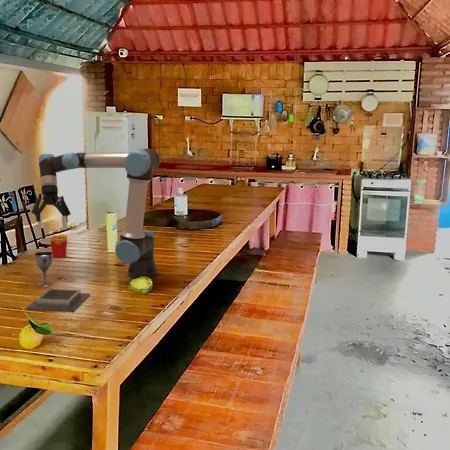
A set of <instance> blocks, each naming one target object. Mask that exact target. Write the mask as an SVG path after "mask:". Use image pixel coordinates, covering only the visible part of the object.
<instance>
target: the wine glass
mask: <svg viewBox="0 0 450 450" xmlns="http://www.w3.org/2000/svg"><path fill="white" fill-rule="evenodd" d="M53 259H54V258H53V253H52V251H49V250H48V251H39V252H38V251H37V252H35V253H34V261H35V265H36V266H37V267H38V268H39V270H41V272H42V275H43V281H41V282H38V283H37V286H39V287H50V286H52V285H53V284H54V282H52V281H47V272H48V270H49V268H50V267H52V264H53Z"/></svg>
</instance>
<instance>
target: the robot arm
mask: <svg viewBox="0 0 450 450" xmlns="http://www.w3.org/2000/svg"><path fill="white" fill-rule="evenodd" d="M160 164H161V158H160V155H159V153H158V152H157V151H156V150H155V149H153V148H143V149H142V148H141V149H134V150H133V151H130V152H129V151H128V152H77V153H76V152H68V153H65V154H60V155H57V156H55V155H54V154H53V153H42V154H39V156H38V167H39V177H40V186H41V187H40V190H41V193H39V194H36V197H35V198H36V199H35V203H34V204H33V207H32V209H31V214H33V216H35V221H36V222H37V227H38V228H37V229H38V230H40V229H44V224H43V223H44V220H43V214H41V213H42V212H43V210H44V209H45V207H46V206H53V207H55V208H56V210H57V211H58V212H59V213H60V214H61V224H62V226H61V227H62V231H65V230H68V223H69V221H68V220H69V218H68V216H70V215H71V214H72V213H71V211H70V209H69V207H68V205H67V203H66V201H65V197H64V196H63V195H61V196H58V194H59V188H58V179H57V178H58V177H57V173H61V172H64V171H70V170H76V169H118V168H119V169H124V170H125V171H126V178H127V179H128V181H129V184H128V193H127V200H126V201H127V202H126V211H125V219H124V220H125V221H124V228H123V230H122V231H121V232H120V237H119V242H118V243H117V244H116V246H115V249H114V250H115V251H114V253H115V255H116V257H117V258H118V260H119V261H120V262H122V263H124V264H129V265H128V268H127V276H128V277H130V278H134V279H138V278H137V277H140V276H147V277H150V278H149V279H151V278H153V277H156V276H158V268H157V264H156V262H155V235H154V234H155V233H154V232H153V231H152V230H147V229H144V228H143V227H144V221H145V212H146V202H147V194H148V185H149V183H150V182H151V181H153V173H154V172H156V170H158V168H159V167H160ZM42 200H43V201H42Z"/></svg>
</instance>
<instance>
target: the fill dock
mask: <svg viewBox="0 0 450 450" xmlns="http://www.w3.org/2000/svg"><path fill="white" fill-rule="evenodd" d="M90 296H91V294H90V293H89V292H88V293H86V292H85V293H84V292H82V290H81V289H68V288H67V289H63V288H49V289H47V290H46V291H45V292H43V294H41V295H40V296H38V298H36V299H35V300H34V301H33V302H31V303H30V304H29V305H27V306H26V310H27V311H44V312H45V311H46V312H47V311H48V312H49V311H50V312H68V313H75V311H76V310H78V308H80V307H81V305H83V303H84V302H85V301H87V299H88V298H89V297H90Z"/></svg>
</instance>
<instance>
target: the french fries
mask: <svg viewBox="0 0 450 450" xmlns="http://www.w3.org/2000/svg"><path fill="white" fill-rule="evenodd" d="M50 239H51V240H50V248H51V252H52V253H53V259H64V258H65V259H66V257H67V246H68V245H67V244H68V235H66V234H65V233H64V234H63V233H62V234H61V233H60V234H53V235H50Z"/></svg>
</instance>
